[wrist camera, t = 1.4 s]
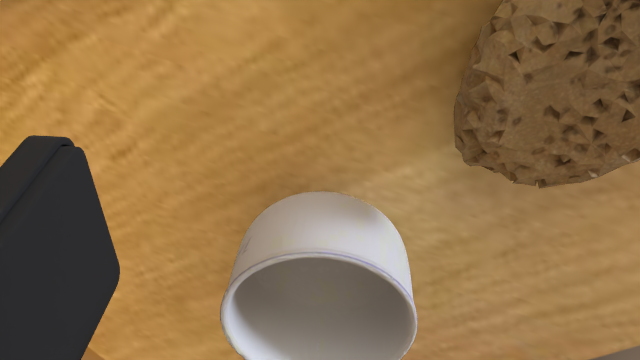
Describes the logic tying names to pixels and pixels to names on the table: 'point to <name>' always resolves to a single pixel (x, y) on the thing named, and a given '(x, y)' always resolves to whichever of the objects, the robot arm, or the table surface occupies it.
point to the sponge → (553, 91)
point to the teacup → (320, 284)
